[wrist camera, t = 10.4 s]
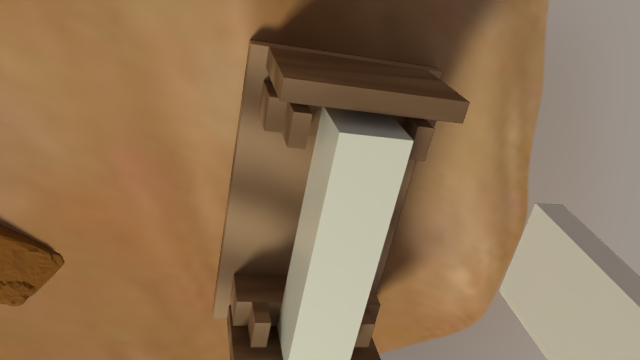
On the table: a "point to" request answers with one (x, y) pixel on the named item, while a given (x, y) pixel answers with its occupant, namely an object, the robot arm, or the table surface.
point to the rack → (305, 174)
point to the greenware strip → (341, 232)
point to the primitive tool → (23, 267)
